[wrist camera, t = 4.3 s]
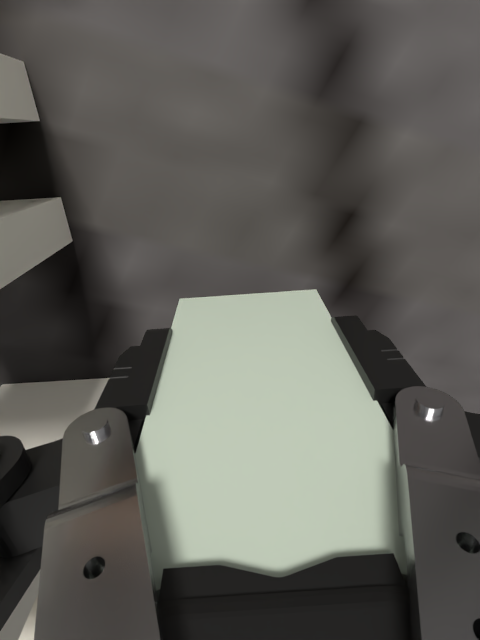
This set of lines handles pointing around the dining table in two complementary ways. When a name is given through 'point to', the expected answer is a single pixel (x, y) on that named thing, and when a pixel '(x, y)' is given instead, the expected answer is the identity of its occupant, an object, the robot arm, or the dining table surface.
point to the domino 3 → (264, 442)
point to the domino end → (15, 92)
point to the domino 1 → (30, 234)
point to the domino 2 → (41, 441)
